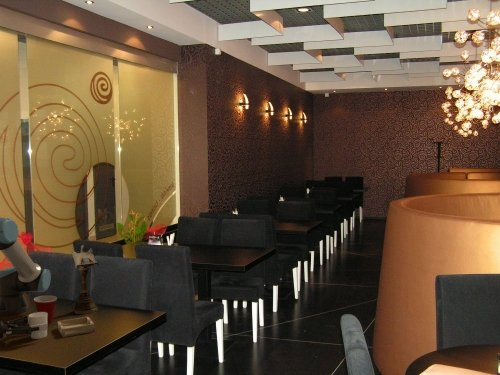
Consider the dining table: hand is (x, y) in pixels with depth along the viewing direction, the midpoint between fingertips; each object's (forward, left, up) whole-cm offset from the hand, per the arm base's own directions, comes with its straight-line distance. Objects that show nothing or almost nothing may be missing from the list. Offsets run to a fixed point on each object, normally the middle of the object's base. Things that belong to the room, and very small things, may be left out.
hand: (45, 322), depth 241 cm
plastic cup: (-21, +3, -6) cm, 22 cm away
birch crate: (0, +13, -6) cm, 14 cm away
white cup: (0, -3, -6) cm, 7 cm away
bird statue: (-27, +24, -6) cm, 37 cm away
